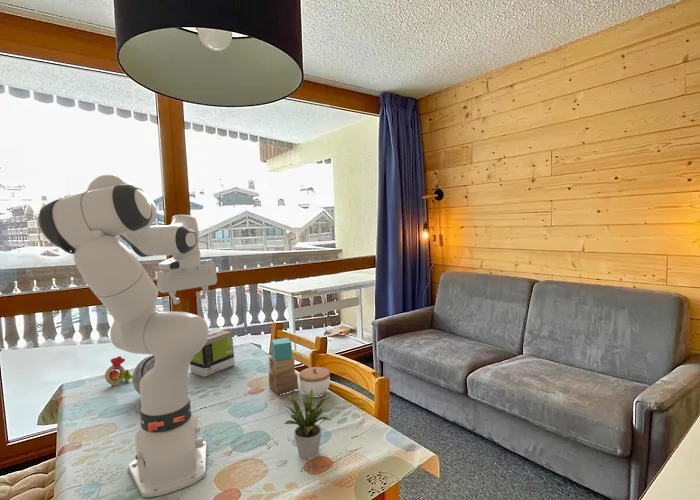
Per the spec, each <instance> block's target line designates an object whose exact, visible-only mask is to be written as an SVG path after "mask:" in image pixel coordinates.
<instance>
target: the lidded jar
mask: <svg viewBox="0 0 700 500" xmlns="http://www.w3.org/2000/svg"><path fill="white" fill-rule="evenodd" d="M330 376H331V370H329V369H328V368H326V367H323V366H322V367H321V366H313V367H307V368H305V369H302V370H301V371H300V372H299V376H298V377H299V383H300V388H301V391H302V392H303V393H304V394H305V395H306V396H307V395H308V396H309V394H310V392H311V389H312V391H313V396H314V397H315V396H320V395H323V394H324V395H325V393H326V392H327V391H328V389H329V387H330V384H331V383H330V381H331V377H330ZM324 395H323V396H324ZM308 396H307V397H308Z"/></svg>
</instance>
